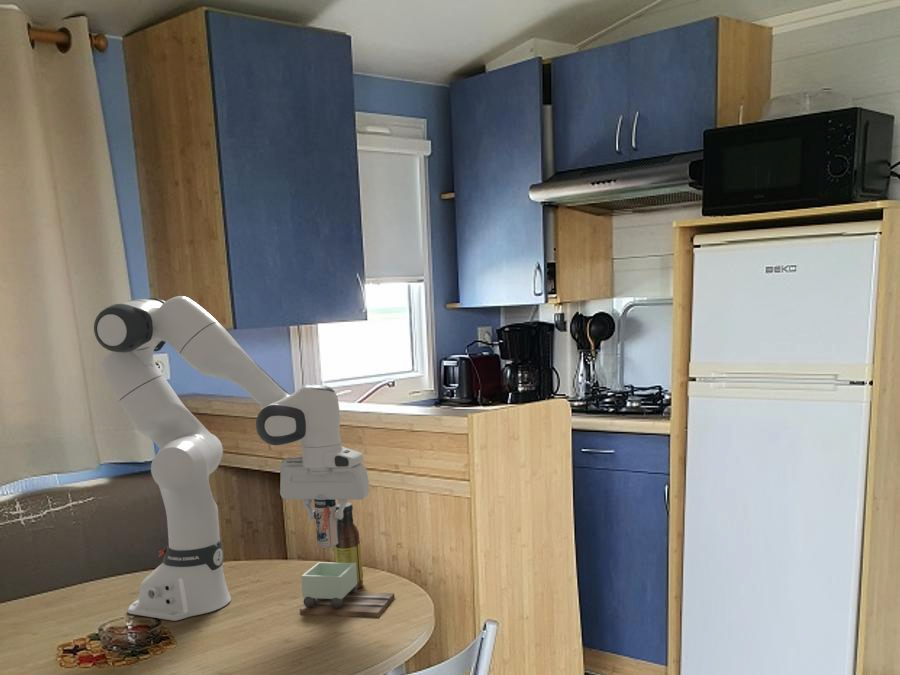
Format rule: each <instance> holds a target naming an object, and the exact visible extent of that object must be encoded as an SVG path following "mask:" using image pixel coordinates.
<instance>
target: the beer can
mask: <svg viewBox="0 0 900 675" xmlns="http://www.w3.org/2000/svg"><path fill="white" fill-rule="evenodd" d="M336 505H337V504H336V500H329V498H327V497H326V496H325V494H321V495H319V494H318V495H317V497H316V498H315V499H314V510H315V516H316V519H315V530H316V545H317V546H316V547H319V548H322V549H329V548H330V549H331V548H334V546H336V545H337V544H338V543H339V542H338V532H337V519H334V517H335V515H334V512H335V511H336Z"/></svg>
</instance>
